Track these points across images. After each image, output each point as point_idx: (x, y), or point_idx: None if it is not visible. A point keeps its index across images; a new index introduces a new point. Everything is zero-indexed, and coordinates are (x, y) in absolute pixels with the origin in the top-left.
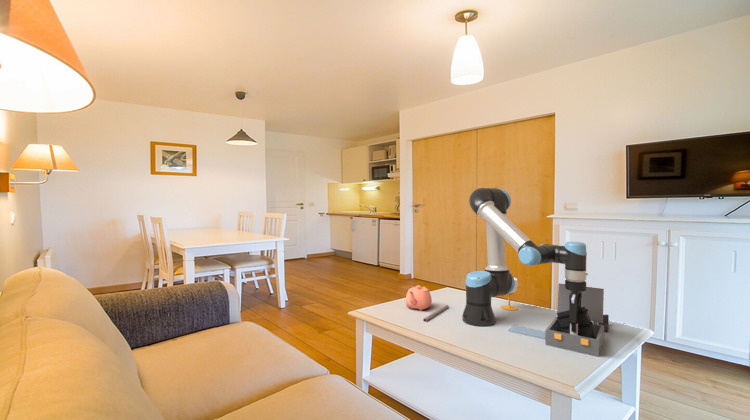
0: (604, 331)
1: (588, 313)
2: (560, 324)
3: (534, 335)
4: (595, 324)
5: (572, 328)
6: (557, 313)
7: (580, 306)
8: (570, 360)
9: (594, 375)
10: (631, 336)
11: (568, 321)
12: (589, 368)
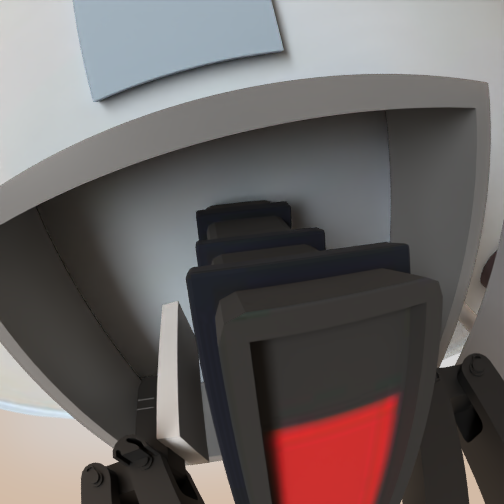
0: (483, 281)
1: (501, 371)
2: (430, 123)
3: (79, 20)
4: (438, 362)
5: (141, 410)
6: (292, 320)
7: (478, 482)
8: (3, 351)
9: (14, 409)
10: (464, 340)
11: (117, 454)
12: (28, 398)
